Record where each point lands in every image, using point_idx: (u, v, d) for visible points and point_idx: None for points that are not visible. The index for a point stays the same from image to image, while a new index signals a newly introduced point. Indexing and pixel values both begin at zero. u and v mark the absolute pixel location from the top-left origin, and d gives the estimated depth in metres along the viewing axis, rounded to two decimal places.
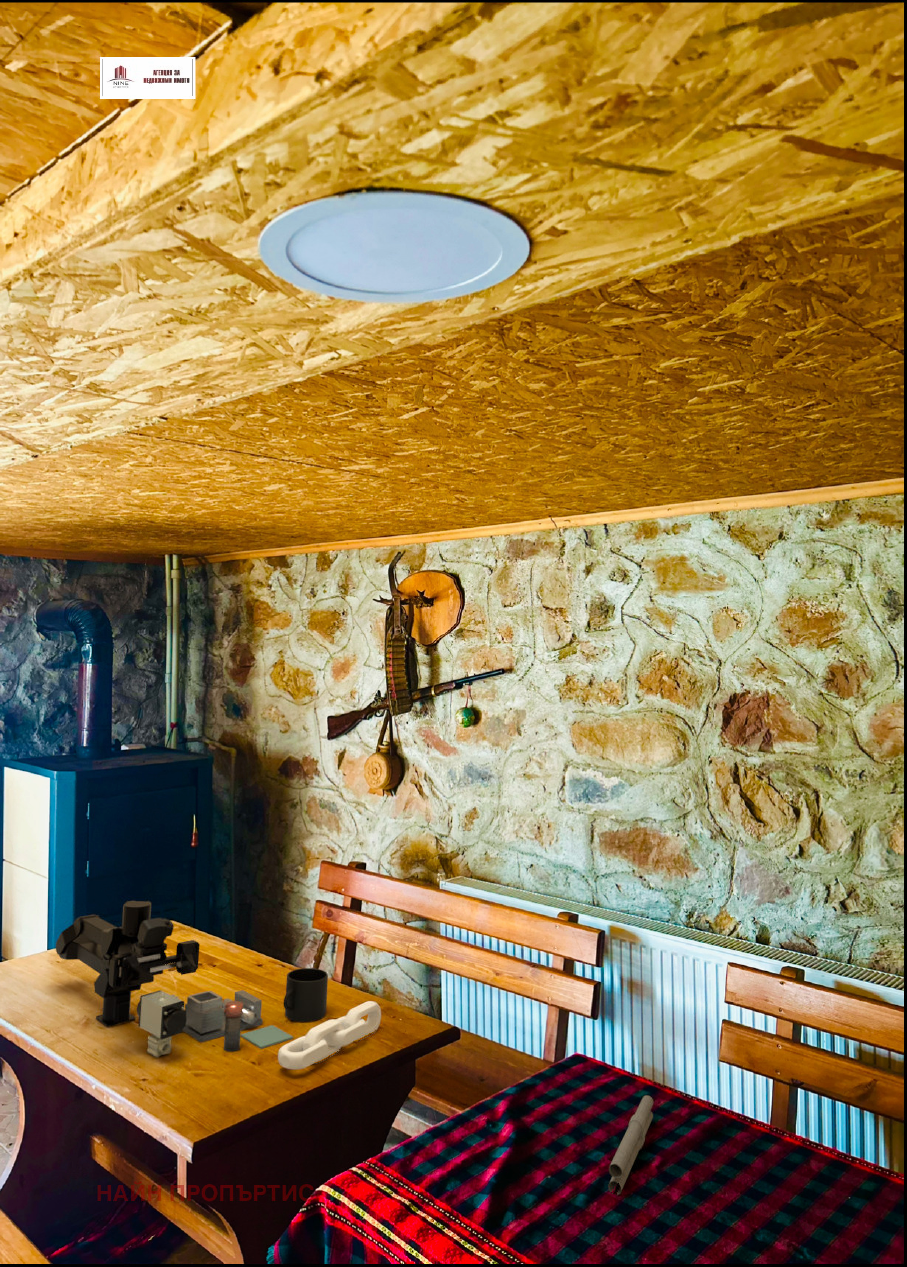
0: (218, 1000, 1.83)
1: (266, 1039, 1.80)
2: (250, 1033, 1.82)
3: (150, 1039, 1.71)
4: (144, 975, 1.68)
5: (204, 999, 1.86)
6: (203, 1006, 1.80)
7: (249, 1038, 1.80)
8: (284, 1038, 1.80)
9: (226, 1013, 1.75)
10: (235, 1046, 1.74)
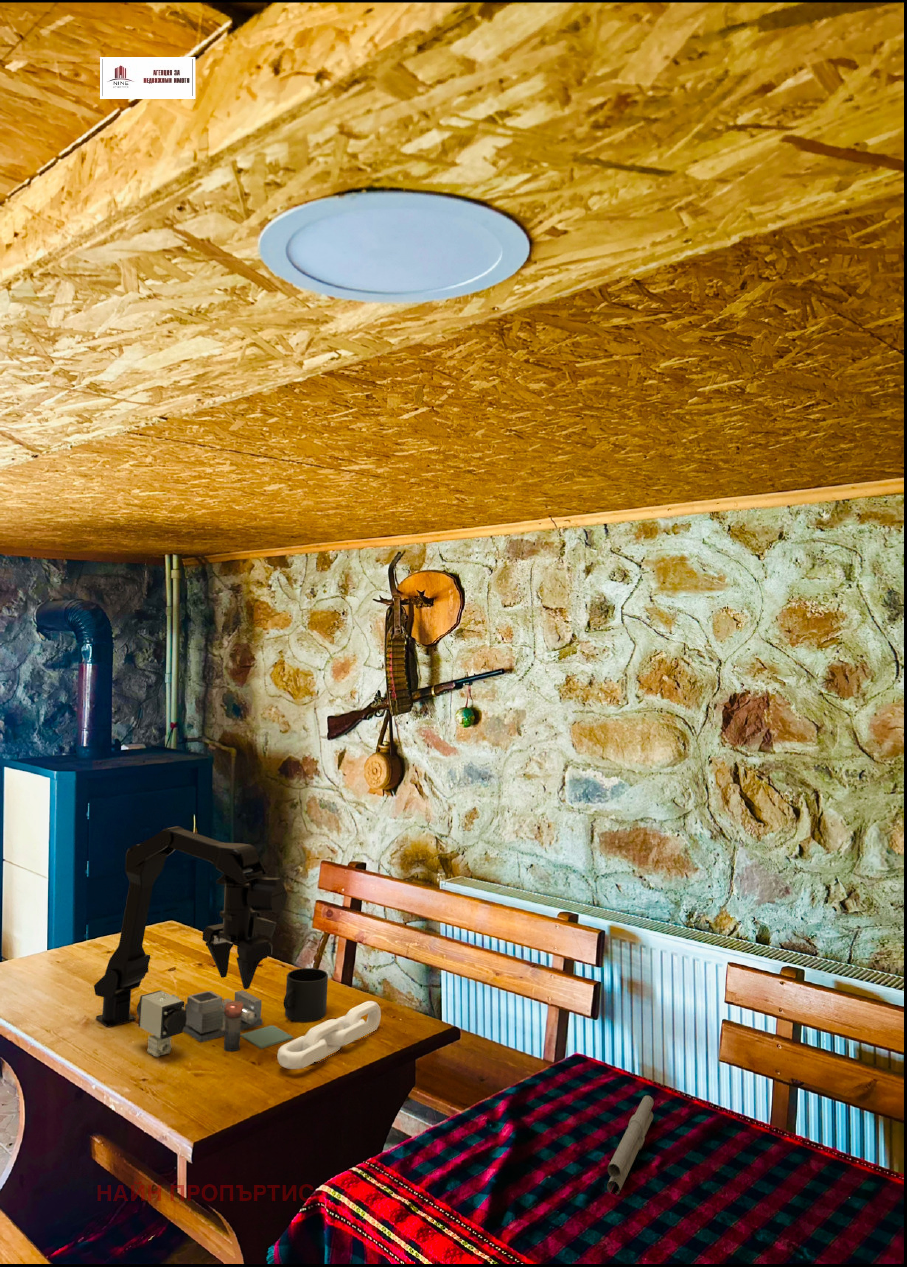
0: (218, 1000, 1.83)
1: (266, 1039, 1.80)
2: (250, 1033, 1.82)
3: (150, 1039, 1.71)
4: (250, 978, 1.73)
5: (204, 999, 1.86)
6: (203, 1006, 1.80)
7: (249, 1038, 1.80)
8: (284, 1038, 1.80)
9: (226, 1013, 1.75)
10: (235, 1046, 1.74)
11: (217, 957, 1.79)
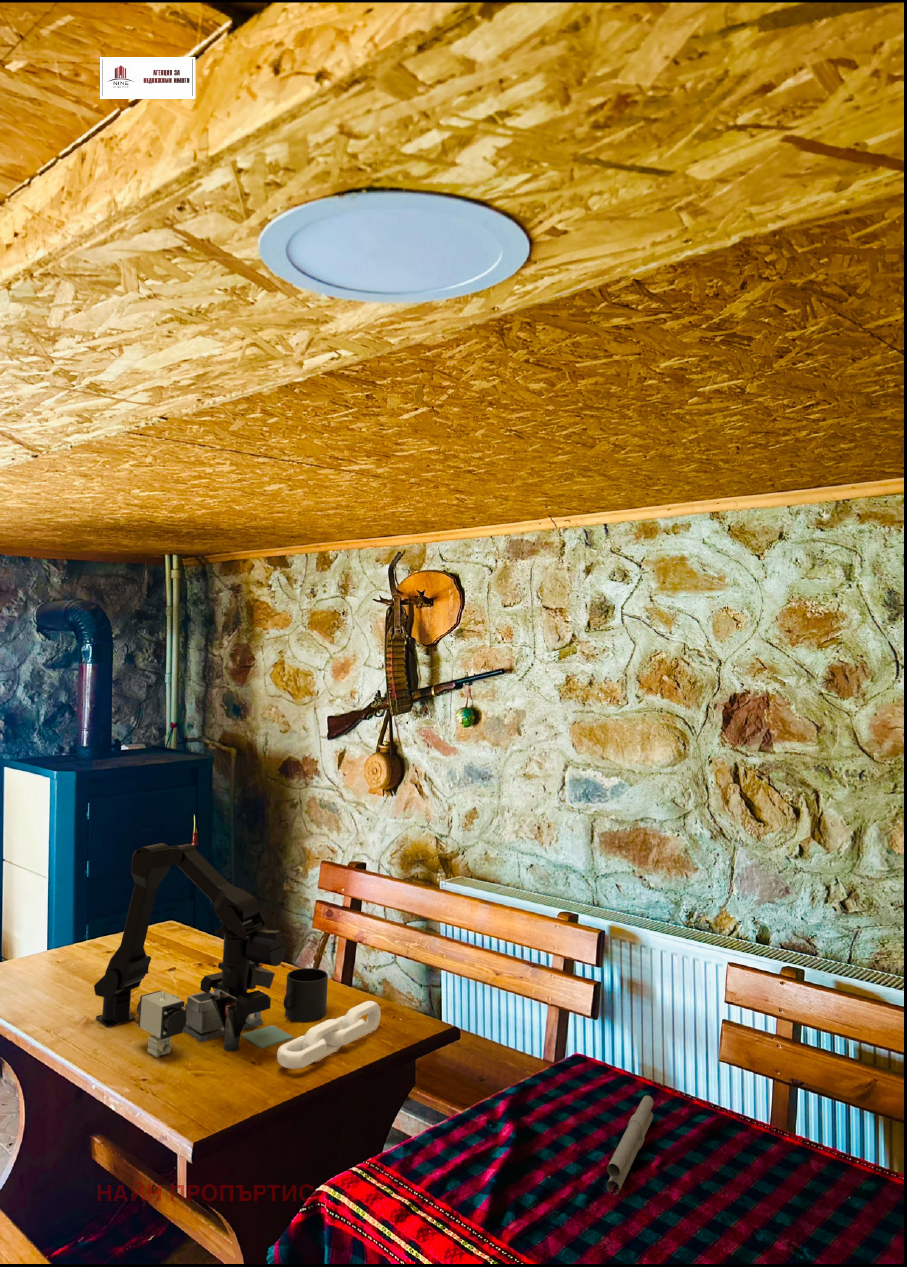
0: None
1: (266, 1039, 1.80)
2: (250, 1033, 1.82)
3: (150, 1039, 1.71)
4: (240, 1027, 1.74)
5: (204, 999, 1.86)
6: (203, 1006, 1.80)
7: (249, 1038, 1.80)
8: (284, 1038, 1.80)
9: (226, 1013, 1.75)
10: (235, 1046, 1.74)
11: (222, 1011, 1.76)
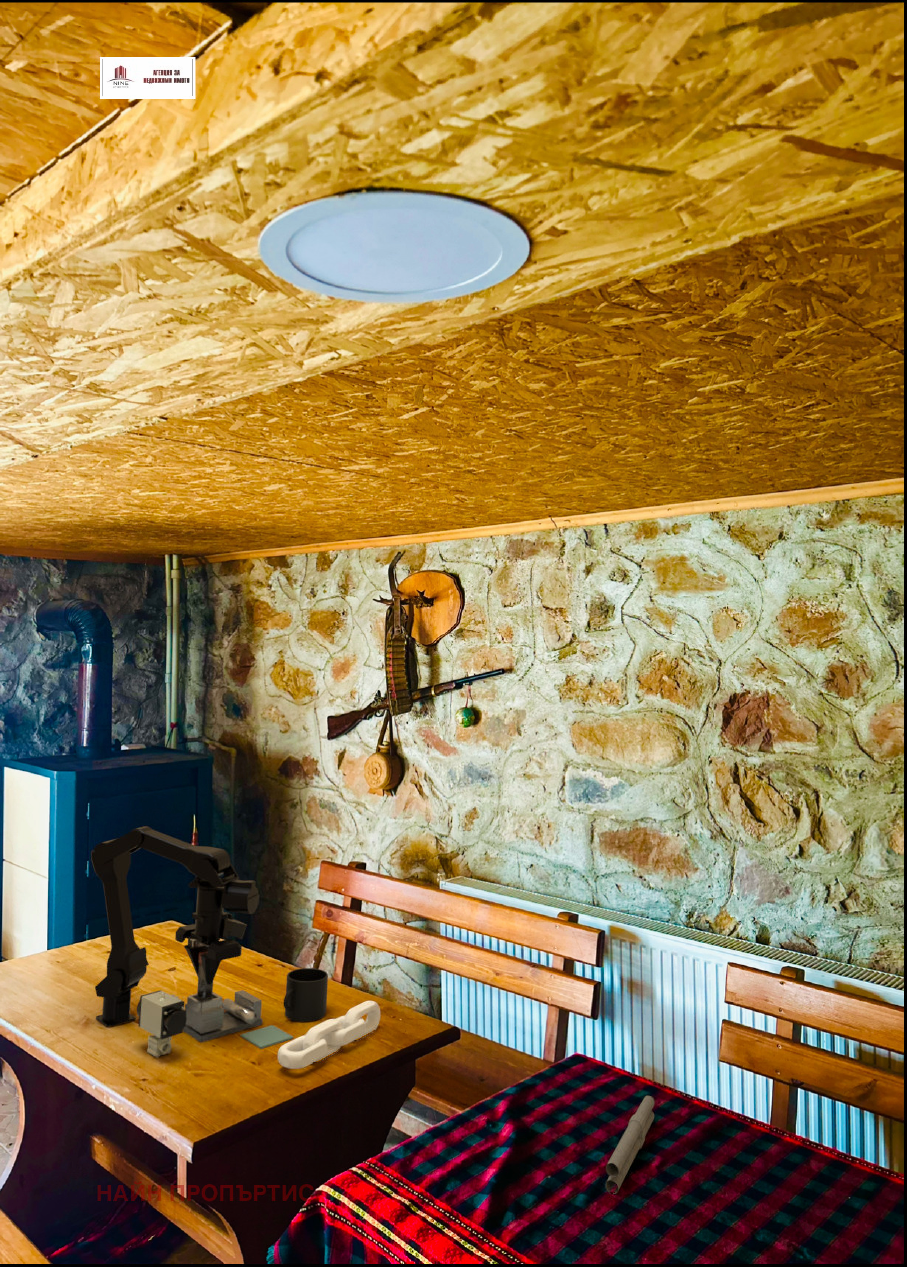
0: (218, 1000, 1.83)
1: (266, 1039, 1.80)
2: (250, 1033, 1.82)
3: (150, 1039, 1.71)
4: (213, 974, 1.82)
5: (204, 999, 1.86)
6: (203, 1006, 1.80)
7: (249, 1038, 1.80)
8: (284, 1038, 1.80)
9: (199, 961, 1.83)
10: (208, 992, 1.82)
11: (195, 960, 1.84)
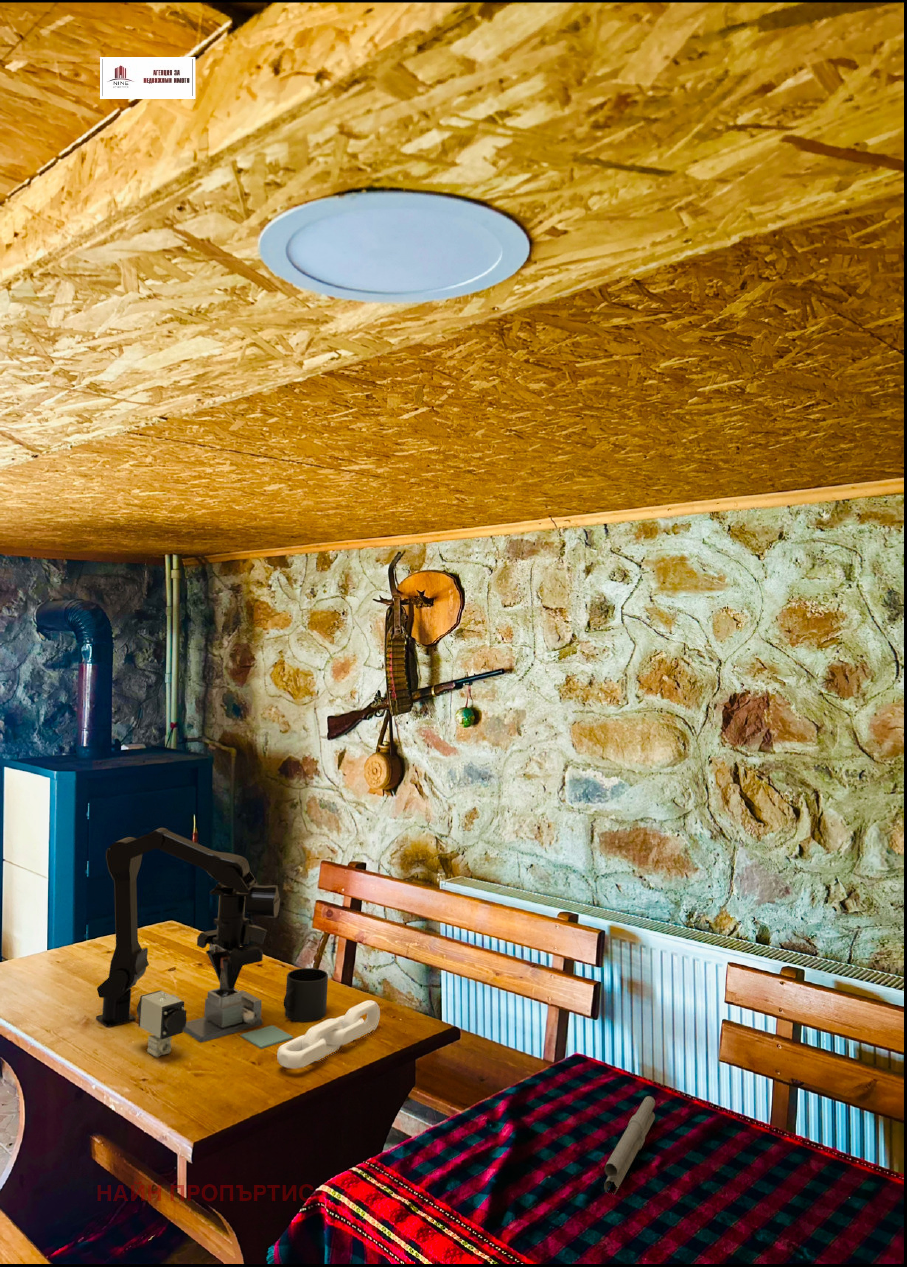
0: (238, 995, 1.86)
1: (266, 1039, 1.80)
2: (250, 1033, 1.82)
3: (150, 1039, 1.71)
4: (234, 979, 1.86)
5: None
6: (223, 1001, 1.83)
7: (249, 1038, 1.80)
8: (284, 1038, 1.80)
9: (221, 966, 1.86)
10: None
11: (217, 965, 1.88)
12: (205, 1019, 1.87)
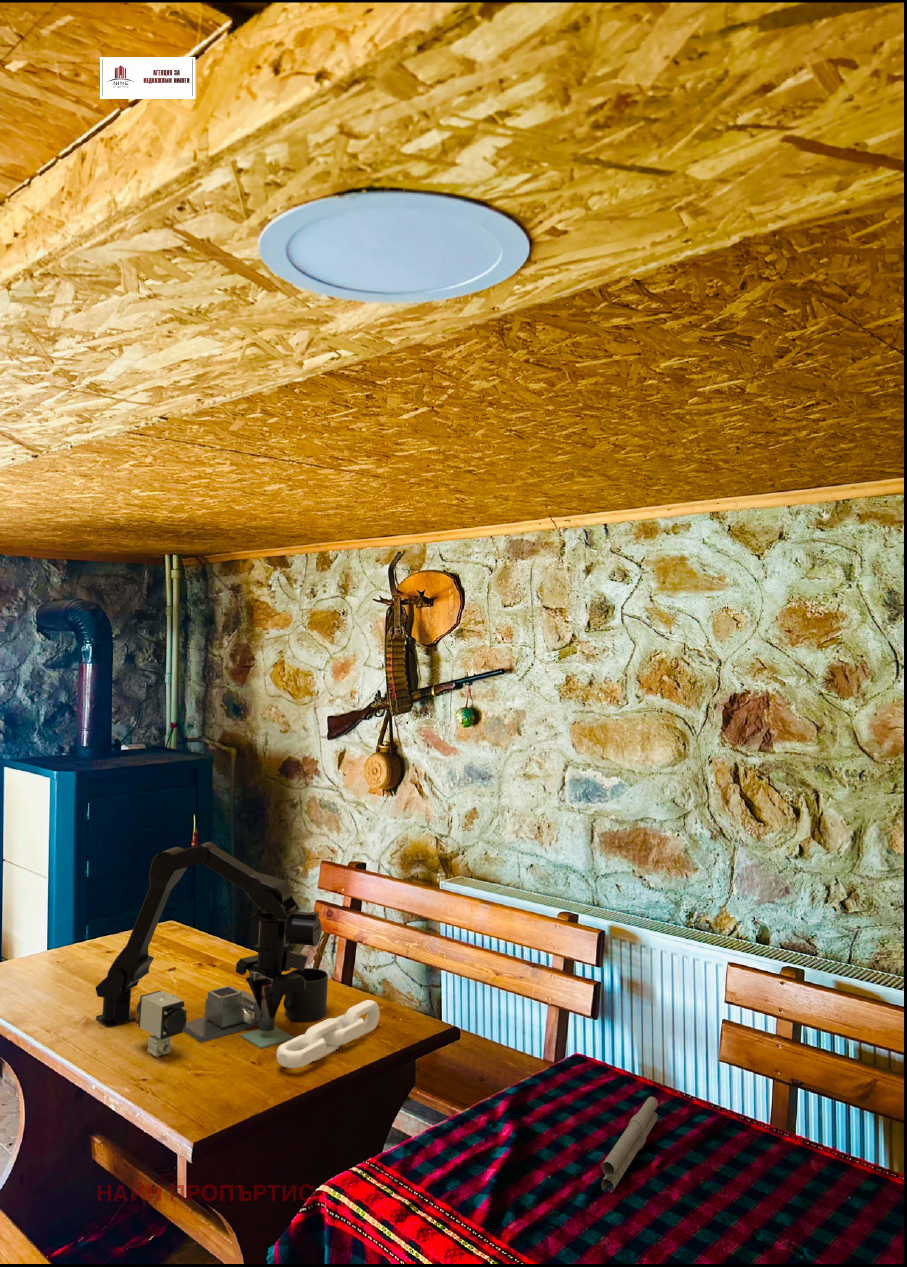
0: (238, 995, 1.86)
1: (266, 1039, 1.80)
2: (250, 1033, 1.82)
3: (150, 1039, 1.71)
4: (276, 1008, 1.80)
5: (224, 994, 1.89)
6: (224, 1001, 1.83)
7: (249, 1038, 1.80)
8: (284, 1038, 1.80)
9: (262, 994, 1.81)
10: (270, 1026, 1.80)
11: (257, 993, 1.82)
12: (205, 1019, 1.87)
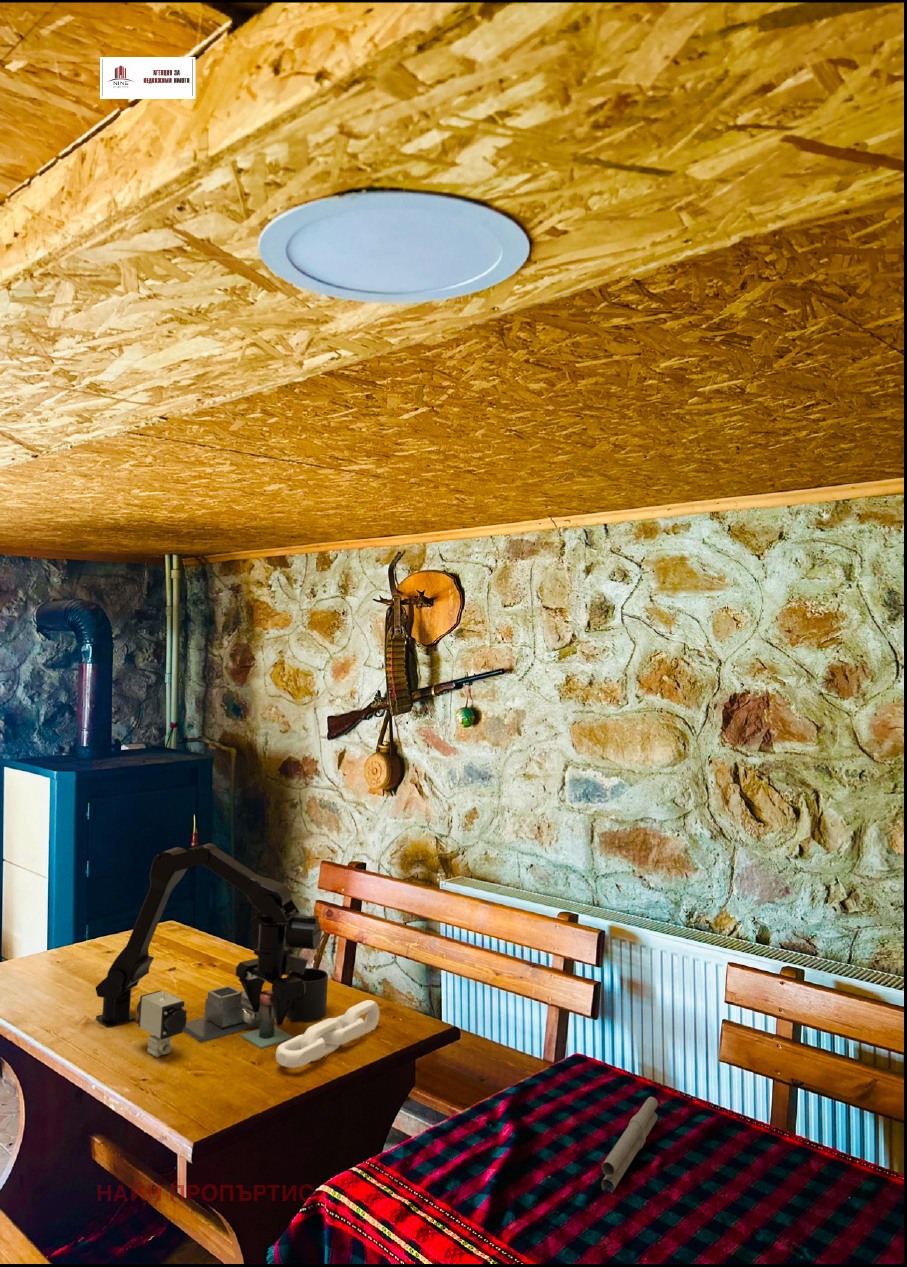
0: (238, 995, 1.86)
1: (266, 1039, 1.80)
2: (250, 1033, 1.82)
3: (150, 1039, 1.71)
4: (283, 1015, 1.78)
5: (224, 994, 1.89)
6: (224, 1001, 1.83)
7: (249, 1038, 1.80)
8: (284, 1038, 1.80)
9: (261, 1001, 1.81)
10: (270, 1033, 1.80)
11: (250, 993, 1.84)
12: (205, 1019, 1.87)
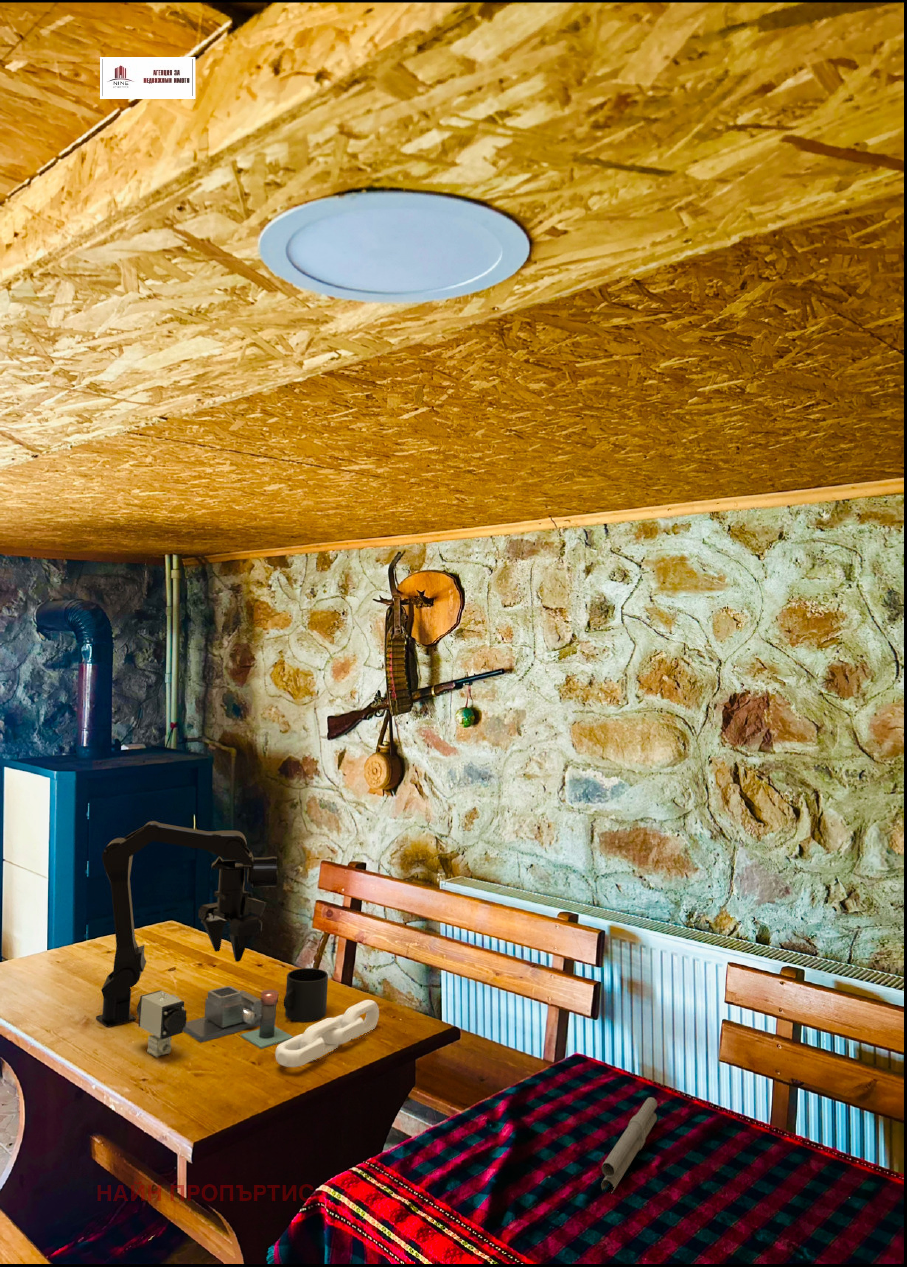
0: (238, 995, 1.86)
1: (266, 1039, 1.80)
2: (250, 1033, 1.82)
3: (150, 1039, 1.71)
4: (241, 952, 1.91)
5: (224, 994, 1.89)
6: (224, 1001, 1.83)
7: (249, 1038, 1.80)
8: (284, 1038, 1.80)
9: (262, 1001, 1.81)
10: (270, 1033, 1.80)
11: (211, 933, 1.97)
12: (205, 1019, 1.87)
